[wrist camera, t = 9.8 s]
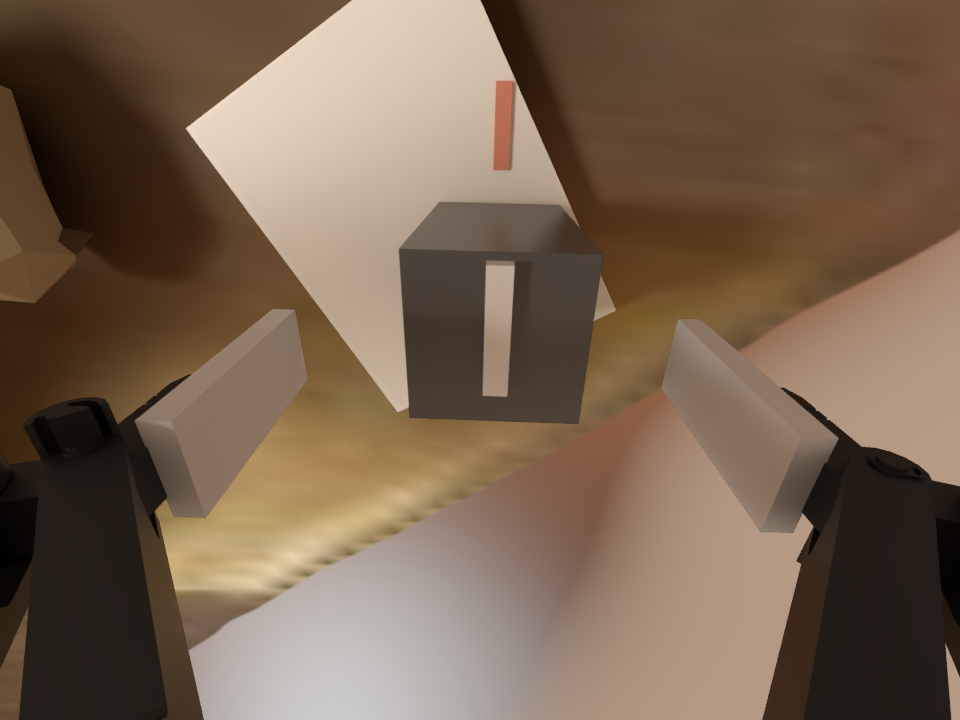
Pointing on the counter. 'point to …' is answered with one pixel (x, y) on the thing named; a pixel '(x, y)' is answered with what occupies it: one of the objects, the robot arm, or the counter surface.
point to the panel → (377, 155)
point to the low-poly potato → (28, 218)
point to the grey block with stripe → (498, 312)
